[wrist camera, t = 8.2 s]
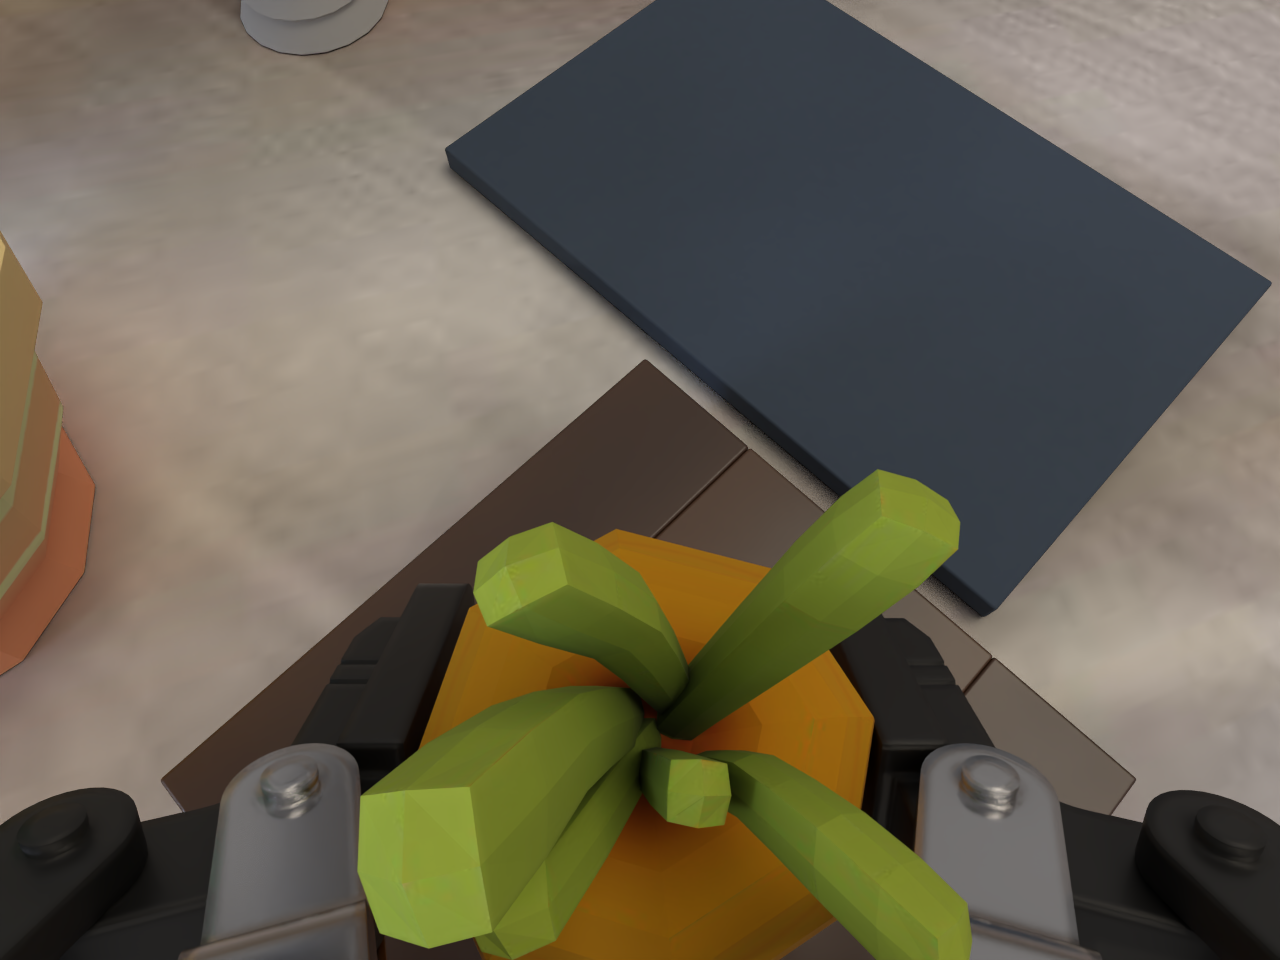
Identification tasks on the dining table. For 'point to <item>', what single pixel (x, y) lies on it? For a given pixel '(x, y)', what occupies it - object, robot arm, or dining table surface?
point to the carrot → (663, 753)
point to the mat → (866, 260)
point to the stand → (673, 512)
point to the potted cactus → (34, 478)
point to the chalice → (309, 23)
